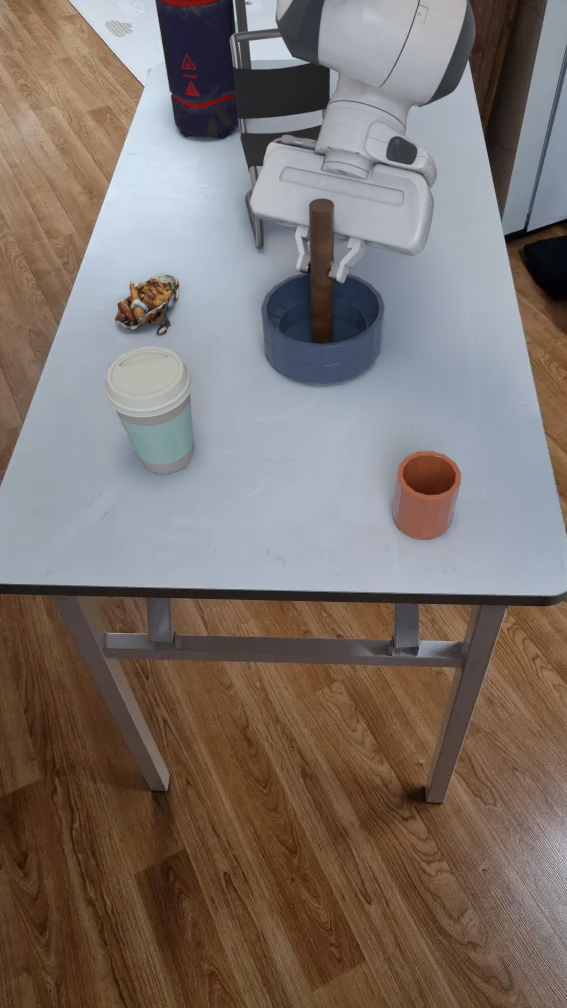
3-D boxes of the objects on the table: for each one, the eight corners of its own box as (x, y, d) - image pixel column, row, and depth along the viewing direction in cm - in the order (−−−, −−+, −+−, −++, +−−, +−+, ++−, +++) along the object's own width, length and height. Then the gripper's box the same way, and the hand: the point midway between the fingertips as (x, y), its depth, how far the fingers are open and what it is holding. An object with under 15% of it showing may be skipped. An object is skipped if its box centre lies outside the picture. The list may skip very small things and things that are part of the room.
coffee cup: (217, 434, 80) (203, 351, 71) (186, 492, 75) (166, 410, 66) (148, 419, 82) (125, 335, 73) (114, 474, 77) (84, 392, 68)
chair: (324, 182, 112) (324, 21, 95) (348, 244, 102) (352, 75, 84) (242, 192, 112) (227, 32, 94) (257, 256, 101) (243, 88, 84)
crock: (452, 496, 73) (462, 454, 68) (449, 544, 70) (459, 503, 65) (395, 489, 74) (401, 447, 69) (389, 536, 71) (394, 495, 66)
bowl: (386, 315, 92) (390, 275, 87) (373, 392, 83) (376, 352, 78) (277, 306, 94) (275, 266, 89) (253, 380, 85) (249, 340, 81)
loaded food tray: (185, 279, 98) (181, 255, 96) (166, 336, 91) (161, 312, 88) (135, 277, 99) (130, 254, 96) (113, 333, 92) (106, 310, 89)
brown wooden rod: (334, 337, 89) (335, 198, 74) (331, 351, 87) (332, 212, 73) (313, 335, 89) (311, 197, 75) (310, 349, 87) (306, 211, 73)
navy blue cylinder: (166, 140, 123) (129, -79, 99) (187, 108, 130) (157, -104, 106) (244, 145, 121) (225, -78, 97) (261, 113, 128) (247, -103, 104)
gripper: (261, 119, 78) (226, 248, 80) (443, 154, 71) (399, 293, 74) (281, 142, 84) (248, 262, 86) (451, 176, 77) (410, 304, 80)
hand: (319, 276), depth 80 cm, fingers closed on brown wooden rod, 2 cm apart
